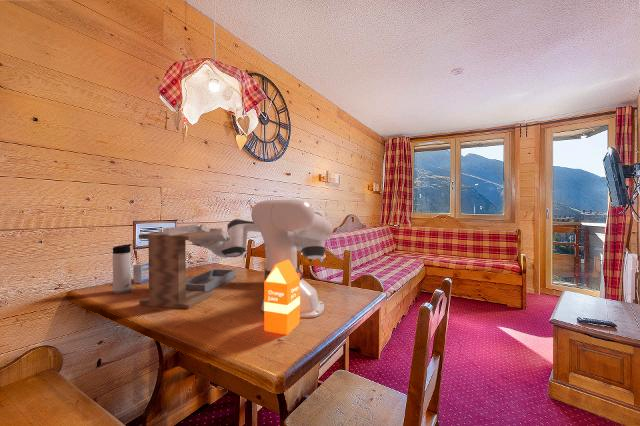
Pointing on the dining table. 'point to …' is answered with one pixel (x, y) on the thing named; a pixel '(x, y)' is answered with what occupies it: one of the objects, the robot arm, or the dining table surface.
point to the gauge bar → (181, 229)
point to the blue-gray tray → (210, 280)
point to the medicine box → (141, 272)
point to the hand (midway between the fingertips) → (196, 226)
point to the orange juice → (282, 299)
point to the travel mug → (121, 269)
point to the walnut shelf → (170, 271)
